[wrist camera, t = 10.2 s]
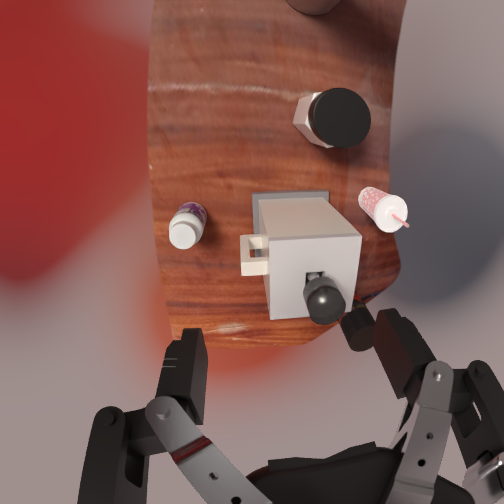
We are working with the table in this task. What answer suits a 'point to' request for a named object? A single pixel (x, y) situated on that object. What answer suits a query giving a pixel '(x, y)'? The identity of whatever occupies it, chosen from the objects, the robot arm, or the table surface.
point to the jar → (333, 118)
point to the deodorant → (358, 325)
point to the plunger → (323, 299)
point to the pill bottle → (187, 225)
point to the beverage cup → (384, 209)
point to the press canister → (299, 248)
